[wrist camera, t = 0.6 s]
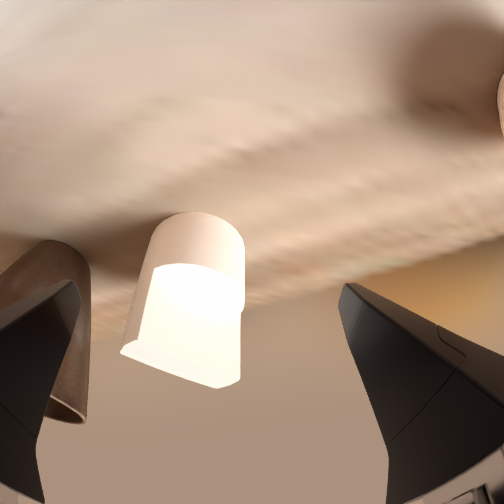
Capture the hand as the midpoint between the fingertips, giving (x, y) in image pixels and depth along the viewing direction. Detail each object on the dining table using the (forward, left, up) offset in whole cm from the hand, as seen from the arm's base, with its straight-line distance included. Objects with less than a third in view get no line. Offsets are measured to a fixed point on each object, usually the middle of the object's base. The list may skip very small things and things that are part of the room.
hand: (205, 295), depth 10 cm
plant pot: (+24, -3, -15) cm, 29 cm away
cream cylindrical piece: (+11, +7, -15) cm, 20 cm away
